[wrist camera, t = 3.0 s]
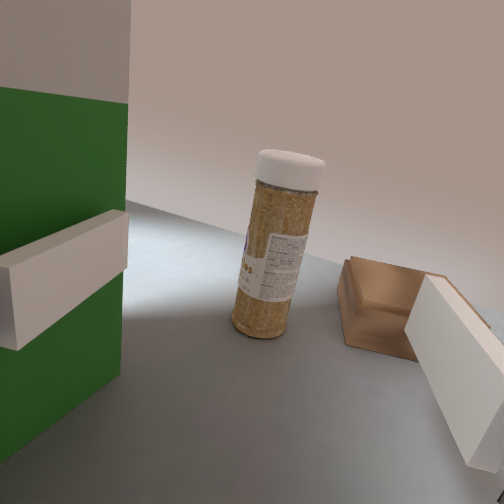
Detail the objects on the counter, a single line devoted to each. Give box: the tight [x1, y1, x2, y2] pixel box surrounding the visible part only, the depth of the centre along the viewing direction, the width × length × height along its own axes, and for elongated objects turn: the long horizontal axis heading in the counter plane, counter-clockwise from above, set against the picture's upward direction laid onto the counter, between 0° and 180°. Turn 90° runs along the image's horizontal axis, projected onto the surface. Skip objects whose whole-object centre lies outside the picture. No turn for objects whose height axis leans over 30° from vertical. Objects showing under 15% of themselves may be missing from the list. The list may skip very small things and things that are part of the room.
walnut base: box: [337, 256, 491, 362], centre depth 31 cm, size 10×10×4 cm
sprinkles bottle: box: [231, 149, 326, 338], centre depth 25 cm, size 5×5×13 cm
